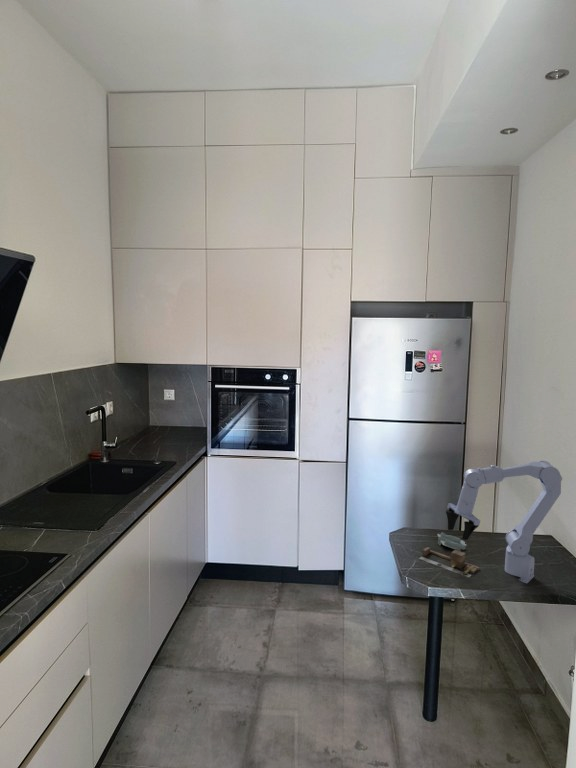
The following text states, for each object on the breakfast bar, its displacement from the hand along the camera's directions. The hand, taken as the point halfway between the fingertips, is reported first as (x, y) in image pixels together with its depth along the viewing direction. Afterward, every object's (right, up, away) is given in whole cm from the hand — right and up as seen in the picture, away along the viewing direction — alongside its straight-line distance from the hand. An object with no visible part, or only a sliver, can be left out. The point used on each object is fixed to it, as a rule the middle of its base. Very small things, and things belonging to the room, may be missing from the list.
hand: (457, 534), depth 182 cm
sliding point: (-1, -12, -1) cm, 12 cm away
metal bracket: (+5, -12, +19) cm, 23 cm away
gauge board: (-3, -13, +1) cm, 14 cm away
